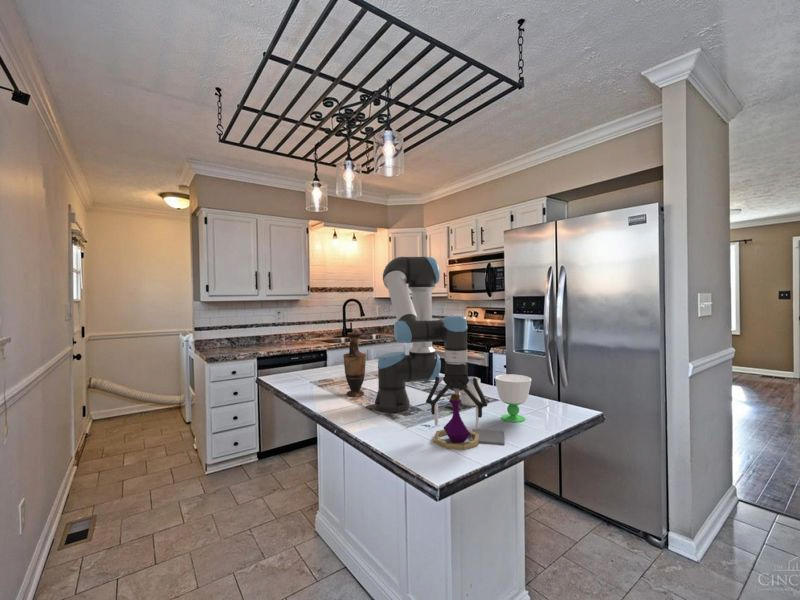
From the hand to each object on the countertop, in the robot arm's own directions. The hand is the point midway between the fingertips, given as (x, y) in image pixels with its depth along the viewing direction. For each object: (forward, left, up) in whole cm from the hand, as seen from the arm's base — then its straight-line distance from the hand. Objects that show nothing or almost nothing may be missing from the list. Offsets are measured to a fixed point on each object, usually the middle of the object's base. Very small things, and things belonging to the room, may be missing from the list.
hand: (456, 425), depth 132 cm
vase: (-54, +47, -5) cm, 72 cm away
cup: (+19, +27, -5) cm, 33 cm away
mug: (0, +44, -5) cm, 44 cm away
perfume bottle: (0, 0, -5) cm, 5 cm away
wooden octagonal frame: (0, 0, -5) cm, 5 cm away
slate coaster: (+10, +5, -5) cm, 12 cm away
